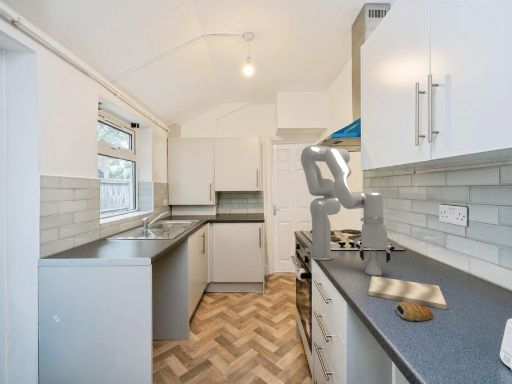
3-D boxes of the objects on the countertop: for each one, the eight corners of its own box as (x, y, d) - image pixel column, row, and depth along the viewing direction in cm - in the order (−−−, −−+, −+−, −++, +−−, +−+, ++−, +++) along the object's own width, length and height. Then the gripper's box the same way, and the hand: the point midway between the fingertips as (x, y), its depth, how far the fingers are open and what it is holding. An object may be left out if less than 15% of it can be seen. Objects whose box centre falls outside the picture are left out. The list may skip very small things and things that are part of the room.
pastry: (423, 310, 77) (423, 298, 77) (439, 322, 70) (439, 309, 70) (392, 310, 77) (393, 298, 77) (405, 323, 70) (405, 309, 70)
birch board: (368, 295, 87) (368, 290, 87) (371, 279, 101) (371, 276, 101) (446, 309, 77) (446, 304, 77) (438, 289, 91) (438, 285, 91)
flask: (384, 277, 104) (384, 253, 104) (366, 276, 106) (366, 252, 105) (379, 271, 111) (379, 248, 111) (362, 270, 113) (362, 248, 112)
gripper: (351, 221, 108) (352, 260, 109) (396, 222, 100) (398, 265, 100) (353, 219, 115) (354, 256, 115) (396, 220, 107) (397, 260, 107)
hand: (374, 260), depth 108 cm, fingers open, 9 cm apart
